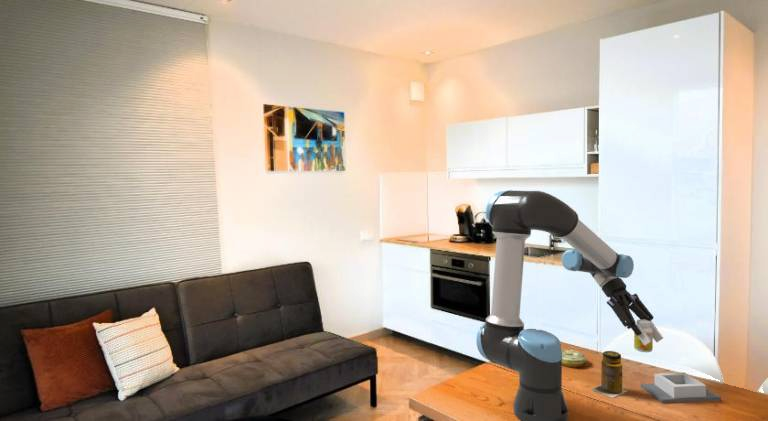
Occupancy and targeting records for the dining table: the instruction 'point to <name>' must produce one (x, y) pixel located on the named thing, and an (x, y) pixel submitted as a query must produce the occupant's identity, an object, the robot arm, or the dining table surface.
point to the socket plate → (679, 389)
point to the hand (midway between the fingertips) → (653, 341)
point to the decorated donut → (573, 358)
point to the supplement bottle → (646, 327)
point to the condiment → (611, 375)
